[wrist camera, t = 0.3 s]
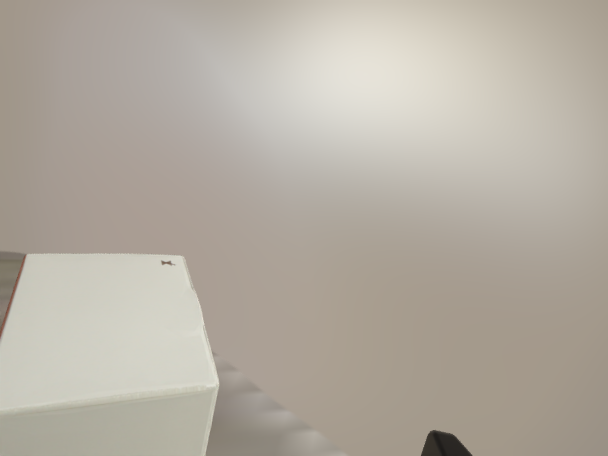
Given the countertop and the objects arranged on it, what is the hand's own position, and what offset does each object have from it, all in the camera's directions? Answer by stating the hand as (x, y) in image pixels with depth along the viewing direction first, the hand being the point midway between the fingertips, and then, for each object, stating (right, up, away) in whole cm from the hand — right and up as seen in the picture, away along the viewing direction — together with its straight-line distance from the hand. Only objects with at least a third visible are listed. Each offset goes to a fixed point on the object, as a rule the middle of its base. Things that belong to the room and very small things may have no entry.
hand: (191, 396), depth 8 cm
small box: (-8, -11, +12) cm, 18 cm away
